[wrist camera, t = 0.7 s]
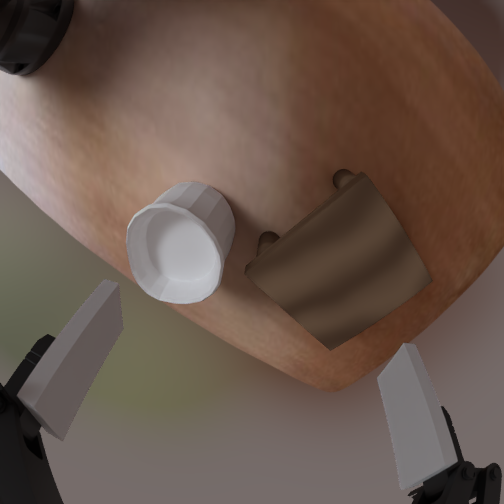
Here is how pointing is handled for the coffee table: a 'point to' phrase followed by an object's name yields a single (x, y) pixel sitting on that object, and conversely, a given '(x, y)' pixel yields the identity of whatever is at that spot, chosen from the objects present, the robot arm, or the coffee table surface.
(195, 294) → the cup
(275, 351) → the coffee table surface
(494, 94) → the coffee table surface
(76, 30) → the coffee table surface
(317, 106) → the coffee table surface
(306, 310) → the footstool
